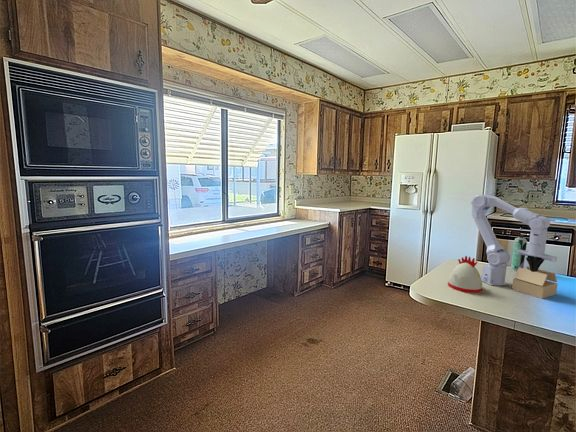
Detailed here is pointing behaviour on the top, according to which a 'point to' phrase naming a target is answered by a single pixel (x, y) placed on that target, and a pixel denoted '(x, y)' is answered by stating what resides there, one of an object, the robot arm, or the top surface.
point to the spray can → (518, 259)
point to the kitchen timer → (465, 277)
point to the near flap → (530, 276)
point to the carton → (535, 288)
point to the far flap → (550, 275)
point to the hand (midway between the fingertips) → (533, 273)
